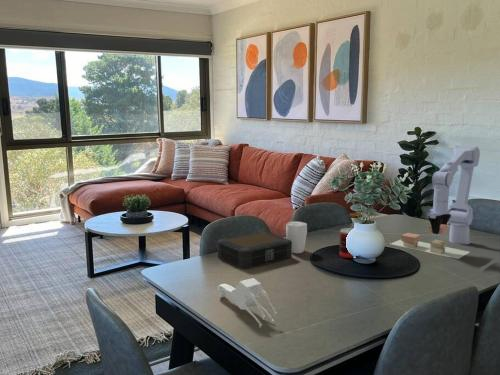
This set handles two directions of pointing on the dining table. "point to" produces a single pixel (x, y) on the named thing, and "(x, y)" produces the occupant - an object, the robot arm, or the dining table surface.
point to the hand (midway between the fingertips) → (438, 232)
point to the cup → (297, 235)
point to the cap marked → (410, 238)
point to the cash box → (254, 249)
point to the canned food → (344, 243)
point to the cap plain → (441, 229)
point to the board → (426, 248)
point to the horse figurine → (246, 296)
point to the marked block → (410, 244)
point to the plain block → (437, 246)
